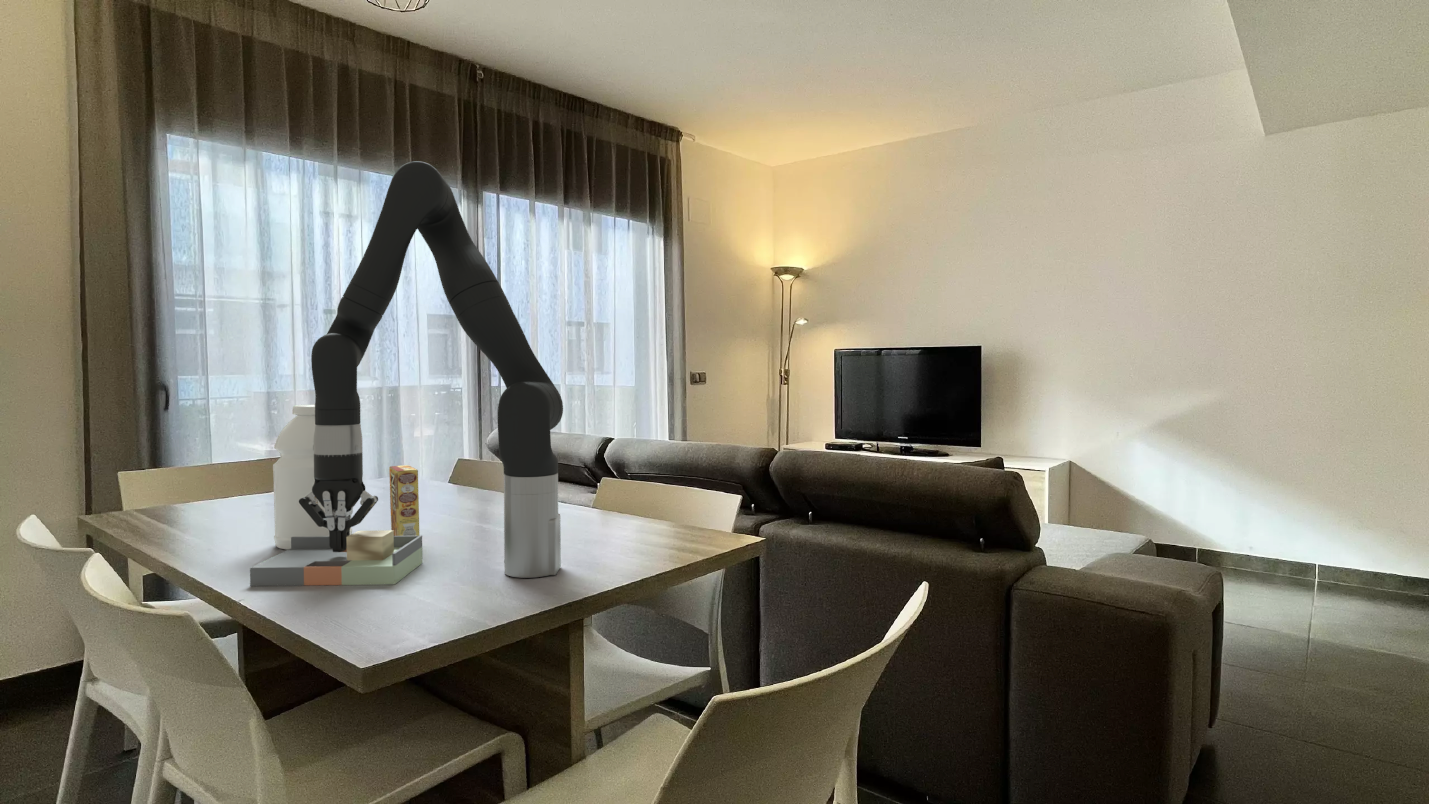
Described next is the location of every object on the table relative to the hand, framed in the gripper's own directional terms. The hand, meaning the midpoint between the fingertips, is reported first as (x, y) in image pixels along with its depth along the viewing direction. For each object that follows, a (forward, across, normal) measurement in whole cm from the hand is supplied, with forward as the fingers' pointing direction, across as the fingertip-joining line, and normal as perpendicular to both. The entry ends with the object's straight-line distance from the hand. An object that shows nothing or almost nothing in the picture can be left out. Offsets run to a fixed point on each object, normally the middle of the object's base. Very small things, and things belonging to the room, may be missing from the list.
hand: (339, 550), depth 132 cm
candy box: (+4, -3, -24) cm, 25 cm away
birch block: (+1, -5, 0) cm, 5 cm away
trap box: (+4, 0, 0) cm, 4 cm away
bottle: (+4, +15, -24) cm, 29 cm away
